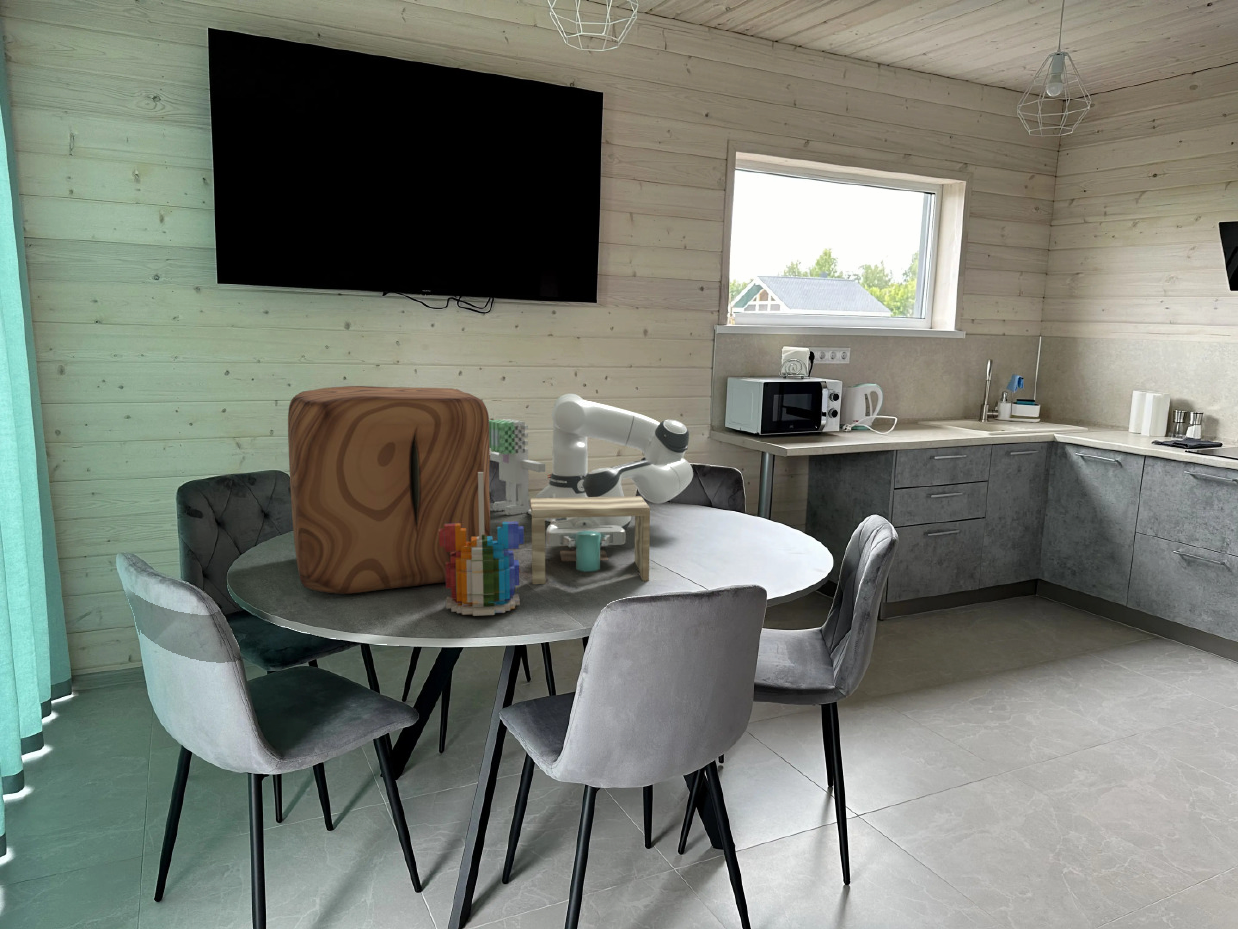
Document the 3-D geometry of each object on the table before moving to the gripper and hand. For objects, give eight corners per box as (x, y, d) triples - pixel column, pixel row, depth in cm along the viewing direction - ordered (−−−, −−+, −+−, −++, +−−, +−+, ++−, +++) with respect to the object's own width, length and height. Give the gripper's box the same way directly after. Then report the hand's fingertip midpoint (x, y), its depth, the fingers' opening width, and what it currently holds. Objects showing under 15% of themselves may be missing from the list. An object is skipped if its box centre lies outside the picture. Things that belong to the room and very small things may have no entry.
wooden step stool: (530, 568, 222) (530, 498, 219) (640, 564, 225) (641, 496, 223) (532, 584, 208) (531, 510, 205) (648, 580, 212) (649, 507, 209)
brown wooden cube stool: (292, 555, 232) (283, 385, 225) (460, 541, 249) (456, 382, 242) (299, 605, 191) (288, 399, 184) (499, 584, 208) (496, 395, 201)
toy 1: (440, 622, 181) (436, 479, 177) (442, 599, 197) (439, 467, 192) (526, 618, 184) (525, 477, 180) (522, 595, 200) (520, 465, 195)
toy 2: (471, 506, 296) (469, 417, 291) (497, 502, 302) (495, 415, 298) (519, 522, 273) (518, 426, 268) (546, 517, 279) (545, 424, 275)
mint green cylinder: (570, 572, 219) (571, 533, 218) (589, 568, 223) (589, 529, 222) (586, 577, 215) (587, 537, 213) (604, 573, 219) (605, 534, 217)
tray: (559, 554, 235) (559, 551, 235) (604, 553, 236) (604, 550, 236) (562, 564, 225) (562, 561, 225) (608, 563, 226) (608, 559, 226)
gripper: (622, 541, 232) (629, 554, 219) (545, 543, 230) (547, 557, 216) (622, 517, 231) (629, 530, 218) (544, 519, 229) (547, 532, 215)
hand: (588, 543), depth 217 cm, fingers open, 7 cm apart
